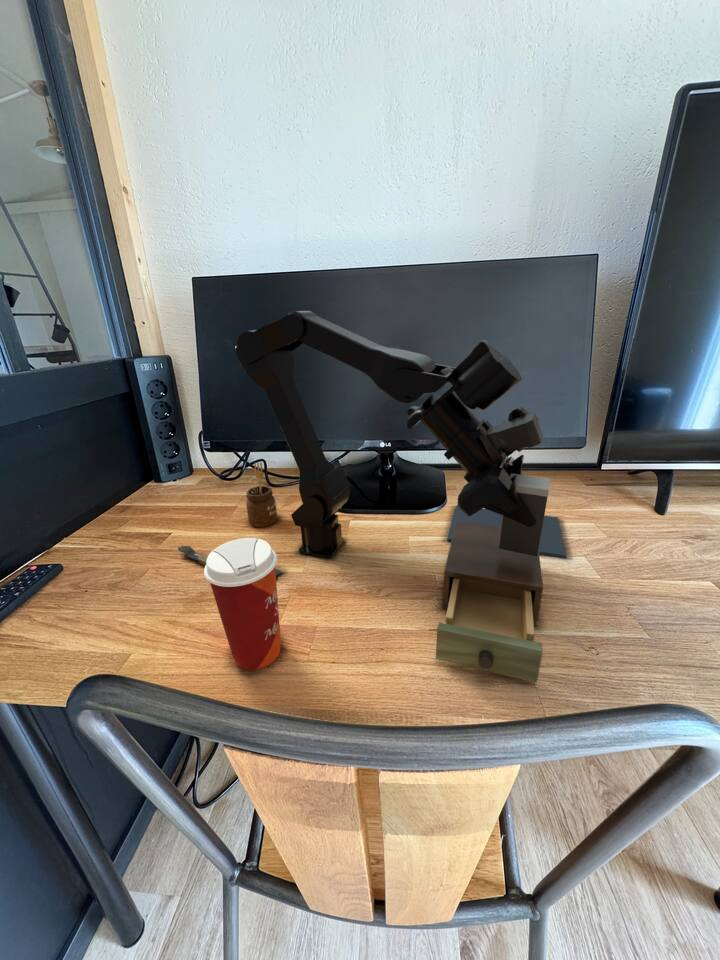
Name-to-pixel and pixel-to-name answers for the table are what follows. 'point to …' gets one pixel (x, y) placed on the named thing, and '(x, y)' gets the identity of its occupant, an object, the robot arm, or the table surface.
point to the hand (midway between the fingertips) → (534, 517)
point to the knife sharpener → (535, 499)
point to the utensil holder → (260, 503)
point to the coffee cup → (247, 599)
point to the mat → (549, 536)
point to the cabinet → (490, 563)
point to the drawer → (490, 630)
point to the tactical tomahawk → (201, 558)
